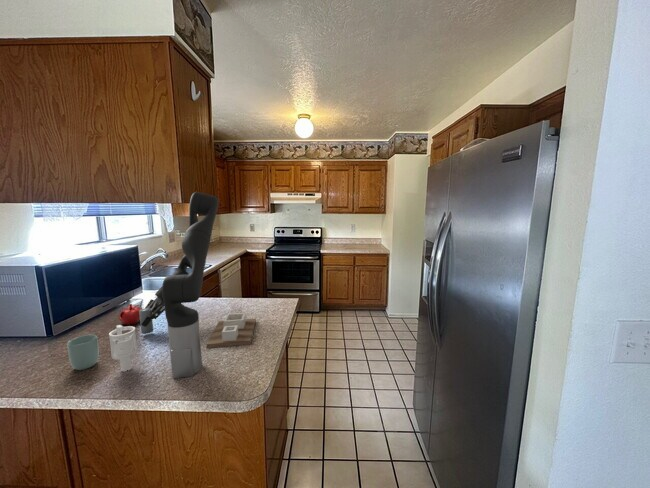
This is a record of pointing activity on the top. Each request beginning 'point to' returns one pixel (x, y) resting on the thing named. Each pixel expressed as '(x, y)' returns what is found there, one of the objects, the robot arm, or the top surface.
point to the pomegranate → (130, 315)
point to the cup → (83, 351)
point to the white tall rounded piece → (123, 346)
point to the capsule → (143, 315)
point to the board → (242, 339)
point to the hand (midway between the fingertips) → (141, 324)
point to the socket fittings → (233, 326)
